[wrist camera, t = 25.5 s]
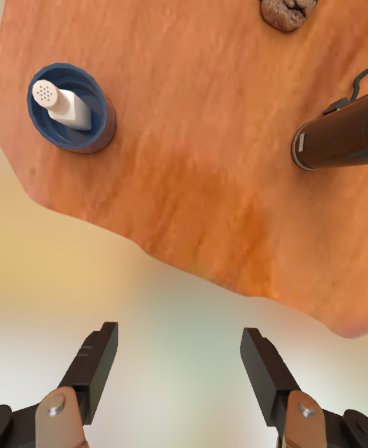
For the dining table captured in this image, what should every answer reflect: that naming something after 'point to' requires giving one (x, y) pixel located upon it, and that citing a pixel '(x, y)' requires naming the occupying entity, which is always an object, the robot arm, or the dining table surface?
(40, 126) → the bowl
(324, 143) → the robot arm
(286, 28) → the cookie
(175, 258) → the dining table surface
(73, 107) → the salt shaker
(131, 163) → the dining table surface
